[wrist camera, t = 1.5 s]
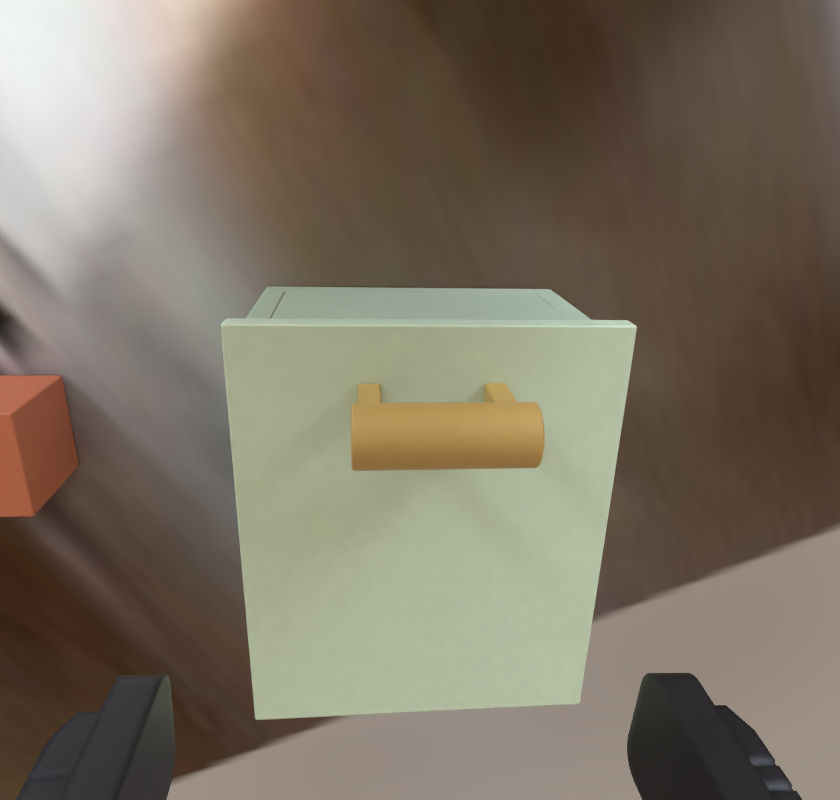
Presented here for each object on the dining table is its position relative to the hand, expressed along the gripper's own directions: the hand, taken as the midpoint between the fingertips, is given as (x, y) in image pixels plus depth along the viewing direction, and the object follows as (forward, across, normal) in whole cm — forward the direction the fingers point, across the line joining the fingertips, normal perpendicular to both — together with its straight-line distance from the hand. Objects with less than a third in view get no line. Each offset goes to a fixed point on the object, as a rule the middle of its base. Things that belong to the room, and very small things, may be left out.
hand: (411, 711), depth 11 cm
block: (+21, +16, +4) cm, 27 cm away
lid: (+12, -2, +4) cm, 12 cm away
